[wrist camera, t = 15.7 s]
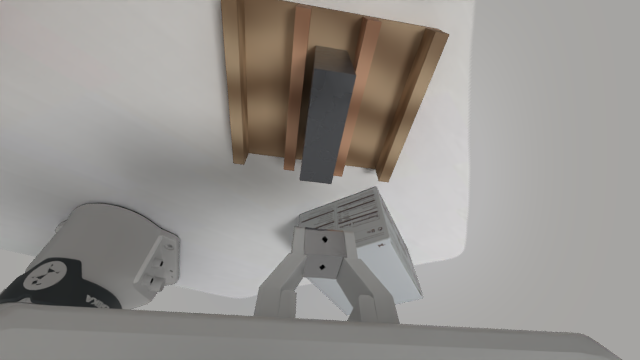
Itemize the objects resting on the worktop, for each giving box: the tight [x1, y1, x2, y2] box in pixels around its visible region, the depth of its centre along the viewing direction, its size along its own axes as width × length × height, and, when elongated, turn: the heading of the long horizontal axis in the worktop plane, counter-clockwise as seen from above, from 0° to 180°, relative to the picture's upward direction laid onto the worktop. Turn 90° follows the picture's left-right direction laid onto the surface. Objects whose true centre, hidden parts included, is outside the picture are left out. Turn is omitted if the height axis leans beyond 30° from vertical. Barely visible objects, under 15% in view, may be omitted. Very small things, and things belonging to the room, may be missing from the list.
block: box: [300, 45, 356, 184], centre depth 24 cm, size 10×3×8 cm, turn 171°
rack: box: [221, 0, 449, 182], centre depth 26 cm, size 16×19×4 cm
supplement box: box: [299, 187, 423, 315], centre depth 39 cm, size 17×13×9 cm
